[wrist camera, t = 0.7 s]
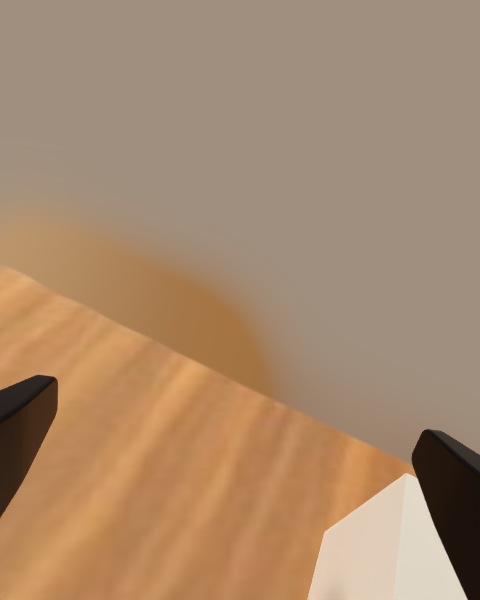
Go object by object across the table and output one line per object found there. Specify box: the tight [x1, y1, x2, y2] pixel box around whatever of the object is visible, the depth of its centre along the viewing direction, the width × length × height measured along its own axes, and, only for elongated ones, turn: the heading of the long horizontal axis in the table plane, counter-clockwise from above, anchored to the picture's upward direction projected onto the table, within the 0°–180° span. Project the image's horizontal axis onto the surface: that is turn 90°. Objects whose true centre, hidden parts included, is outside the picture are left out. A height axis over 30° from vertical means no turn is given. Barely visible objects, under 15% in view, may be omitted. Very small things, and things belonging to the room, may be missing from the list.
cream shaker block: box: [307, 473, 467, 600], centre depth 15 cm, size 5×5×10 cm
